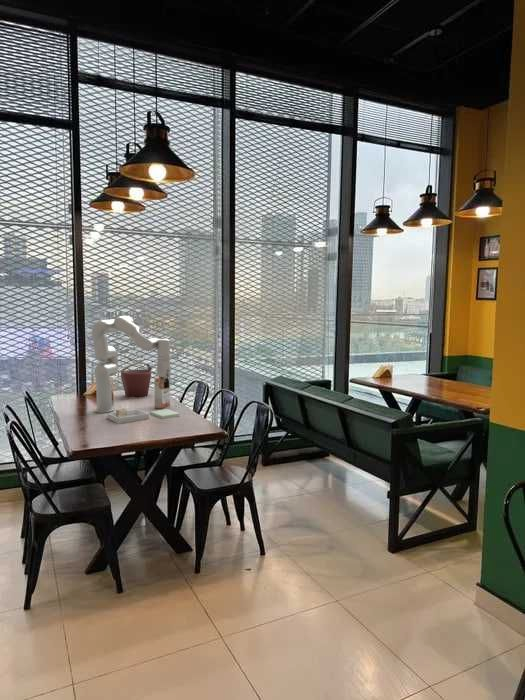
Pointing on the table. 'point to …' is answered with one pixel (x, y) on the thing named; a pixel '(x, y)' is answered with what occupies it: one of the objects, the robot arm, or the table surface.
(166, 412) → the board
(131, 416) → the bin
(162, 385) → the labelled block
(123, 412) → the plain block
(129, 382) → the bucket
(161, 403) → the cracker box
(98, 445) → the table surface
